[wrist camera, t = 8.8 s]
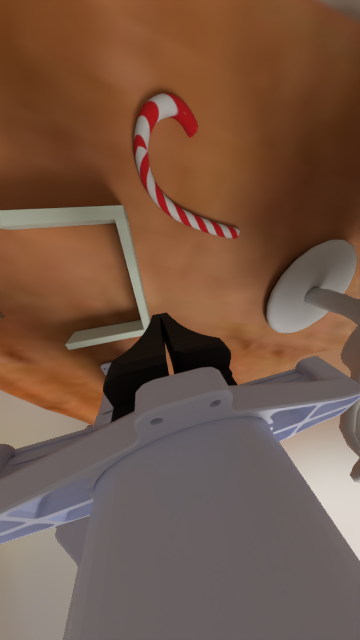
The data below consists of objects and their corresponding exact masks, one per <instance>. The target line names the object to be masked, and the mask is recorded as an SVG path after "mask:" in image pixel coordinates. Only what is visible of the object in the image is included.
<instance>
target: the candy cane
mask: <svg viewBox="0 0 360 640" xmlns="http://www.w3.org/2000/svg"><path fill="white" fill-rule="evenodd" d="M166 117H171V118H174V119H176V120H177V121H178V122H179V123H180V124H181V125H182V127H183V128H184V130H185V131H186V133H187V135H188V136H189V137H192V136H193V135H194V134H195V133H196V131H197V130H198V124H197V121H196V119H195V117H194V115H193V114H192V112H191V110H190V109H189V107H188V106H187V105H186V104H185V102H184V101H183V100H181V99H180V98H179V97H177V96H175V95H173V94H169V93H162V94H158V95H156V96H154V97H152V98H151V99H150V100H148V101H147V102H146V103H145V104H144V105H143V107H142V109H141V112H140V114H139V116H138V119H137V123H136V128H135V135H134V152H135V160H136V165H137V169H138V173H139V176H140V178H141V181H142V183H143V185H144V187H145V189H146V191H147V192H148V194H149V195H150V197H151V198H152V199H153V201H154V202H155V203H156V204H157V205H158V206H159V207H160V208H161V209H162V210H163V211H164V212H165V213H167V214H168V215H169V216H171V217H172V218H174V219H175V220H177V221H179V222H181V223H183V224H185V225H188V226H190V227H193V228H195V229H198V230H201V231H204V232H207V233H210V234H213V235H217V236H221V237H226V238H232V239H236V238H237V237H238V236H239V234H240V230H239V229H237V228H234V227H230V226H226V225H222V224H219V223H215V222H212V221H210V220H207V219H204V218H202V217H199V216H197V215H194V214H192V213H190V212H188V211H186V210H184V209H182V208H180V207H179V206H177V205H176V204H174V203H173V202H172V201H171V200H169V199H168V198H167V197H166V196H165V195H164V194H163V193H162V191H161V190H160V189H159V187H158V186H157V184H156V182H155V180H154V178H153V176H152V173H151V170H150V166H149V160H148V143H149V138H150V134H151V131H152V129H153V127H154V125H155V124H156V123H157V122H158V121H160V120H161V119H163V118H166Z"/></svg>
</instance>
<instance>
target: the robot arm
mask: <svg viewBox="0 0 360 640" xmlns="http://www.w3.org/2000/svg"><path fill="white" fill-rule="evenodd" d="M165 343H166V346H167V349H168V352H169V355H170V358H171V362H172V366H173V370H174V375H170V376H169V372H168V366H167V361H166V351H165ZM230 360H231V352H230V350H229V348H228V347H227V346H226V345H225V343H224V342H223V341H222V340H221V339H220V338H216V337H211V336H206V335H202V334H199V333H196V332H194V331H191V330H189V329H187V328H185V327H183V326H182V325H180V324H179V323H177V322H176V321H175V320H174V319H173V318H171V317H170V316H169V315H168V314H167V313H162V314H156V315H153V316H152V318H151V321H150V323H149V325H148V327H147V329H146V331H145V332H144V334H143V335H142V337H141V338H140V339H139V340H138V341H137V342H136V343H135V344H134V345H133V346H132V347H131V348H130V349H129V350H128V351H126V352H125V353H124V354H123V355H121V356H120V357H118V358H117V359H115V360H114V361H112V362H109V363H104V364H102V365H101V369H102V371H103V372H104V374H105V376H106V378H105V382H104V386H103V392H104V394H103V398H102V402H101V405H100V409H99V413H98V415H97V417H96V420H95V424H94V427H93V425H88V426H87V428H85V429H84V430H81V431H77V432H74V433H71V434H67V435H64V436H60V437H57V438H53V439H50V440H46V441H43V442H40V443H36V444H32V445H29V446H26V447H22V448H19V449H14V448H13V447H12V446H10V445H7V444H0V544H3V543H6V542H9V541H12V540H15V539H18V538H21V537H24V536H27V535H30V534H33V533H36V532H40V531H43V530H46V529H49V528H52V527H56V528H57V530H56V534H55V536H56V539H57V541H58V542H59V544H60V545H61V546H62V547H63V548H64V549H65V550H66V552H67V553H68V554H69V555H70V556H71V558H72V559H73V560H74V561H75V562H76V564H77V566H78V571H77V575H76V580H75V584H74V589H73V594H72V599H71V604H70V608H69V613H68V618H67V623H66V628H65V632H64V637H63V640H360V561H359V559H358V558H357V556H356V555H355V553H354V552H353V551H352V549H351V548H350V546H349V545H348V543H347V542H346V540H345V539H344V537H343V536H342V534H341V533H340V531H339V530H338V528H337V527H336V525H335V524H334V522H333V521H332V520H331V518H330V516H329V515H328V514H327V512H326V511H325V509H324V508H323V506H322V505H321V503H320V502H319V500H318V499H317V497H316V496H315V494H314V493H313V491H312V490H311V488H310V487H309V485H308V484H307V483H306V481H305V480H304V478H303V477H302V475H301V474H300V472H299V471H298V469H297V468H296V466H295V465H294V463H293V462H292V460H291V459H290V457H289V456H288V454H287V453H286V451H285V450H284V448H283V447H282V445H281V444H280V441H282V440H285V439H287V438H289V437H291V436H293V435H295V434H297V433H299V432H301V431H304V430H306V429H308V428H310V427H312V426H314V425H316V424H319V423H321V422H323V421H326V420H328V419H331V418H333V417H336V416H338V415H341V414H342V413H343V412H344V411H346V410H347V409H348V408H349V407H350V406H352V405H353V404H354V403H355V402H356V401H358V400H359V399H360V384H359V383H357V382H356V381H354V380H353V379H351V378H350V377H348V376H347V375H345V374H344V373H342V372H341V371H339V370H338V369H336V368H334V367H333V366H331V365H330V364H328V363H327V362H325V361H324V360H322V359H321V358H319V357H318V356H313V357H309V358H305V359H303V360H301V361H300V362H298V363H297V365H296V367H295V369H292V370H289V371H285V372H282V373H278V374H275V375H271V376H268V377H265V378H261V379H258V380H254V381H251V382H247V383H244V384H240V385H237V383H236V382H235V380H234V379H233V377H232V372H231V370H230V369H229V365H230Z"/></svg>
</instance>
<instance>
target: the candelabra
mask: <svg viewBox="0 0 360 640" xmlns="http://www.w3.org/2000/svg"><path fill="white" fill-rule="evenodd" d="M356 262H357V255H356V251H355V248H354V246H353V245H351V244H350V243H348V242H347V241H345V240H329V241H326V242H324V243H322V244H319V245H317V246H315V247H312V248H311V249H309V250H308V251H307V252H305V253H304V254H303V255H301V256H300V257H299V258H297V259H296V260H295V261H294V262H293V263H292V264H291V265H290V266H289V268H288V269H287V270H286V271H285V272H284V273H283V274H282V275H281V277H280V279H279V280H278V282H277V284H276V285H275V287H274V288H273V290H272V292H271V295H270V298H269V301H268V304H267V314H266V318H267V320H268V323H269V325H270V327H271V328H272V329H274V330H275V331H276V332H281V333H291V332H296V331H299V330H301V329H304V328H306V327H308V326H310V325H311V324H313V323H314V322H316V321H317V320H319V319H320V318H322V317H323V316H324V315H325V314H326V313H327V312H328V311H329V312H334V313H338V314H341V315H343V316H345V317H347V318H349V319H351V320H352V321H353V322H355V323H356V324H358V326H357V327H356V329H355V330H354V331H353V332H352V334H351V335H350V337H349V338H348V340H347V341H346V343H345V345H344V347H343V350H342V353H341V359H342V361H343V363H344V364H345V365H346V366H347V367H348V368H349V369H350V371H351V377H350V378H351V379H353V380H354V381H356V382H357V383H359V384H360V299H356V298H352V297H350V296H348V295H346V294H344V292H345V291H346V289H347V288H348V286H349V285H350V282H351V280H352V277H353V275H354V273H355V270H356ZM339 428H340V430H341V432H342V434H343V436H344V439H345V441H346V443H347V445H348V446H349V447H350V448H351V449H352V450H353V451H354V452H355V453H356V454H357V455H358V456H359V457H360V399H359V400H358V401H356V402H355V403H354V404H353V405H352V406H350V407H349V408H348V409H347V410H346V411H344V412H343V413H342V414H341V417H340V424H339ZM350 476H351V477H352V479H353V480H354V482H358V483H360V458H359V460H358V461H357V462H356V464H355V465H354V466H353V469H352V471H351V474H350Z"/></svg>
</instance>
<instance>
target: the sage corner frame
mask: <svg viewBox="0 0 360 640" xmlns="http://www.w3.org/2000/svg"><path fill="white" fill-rule="evenodd" d="M111 223H116V225H117V229H118V233H119V237H120V241H121V244H122V248H123V252H124V256H125V259H126V263H127V267H128V271H129V275H130V278H131V282H132V286H133V290H134V293H135V297H136V301H137V305H138V308H139V312H140V316H141V320H138V321H132V322H127V323H121V324H116V325H110V326H104V327H99V328H93V329H88V330H82V331H76V332H74V333H73V335H72V336H71V337H70V339H69V340H68V341H67V343H66V344H65V345H66V347H67V348H68V350H71V349H76V348H81V347H86V346H92V345H97V344H102V343H107V342H112V341H117V340H122V339H127V338H132V337H137V336H142V335H143V334H144V332H145V331H146V329H147V327H148V325H149V323H150V321H151V320H150V316H149V311H148V307H147V302H146V298H145V293H144V289H143V285H142V280H141V276H140V271H139V267H138V262H137V258H136V253H135V249H134V244H133V240H132V235H131V231H130V226H129V222H128V217H127V213H126V210H125V209H124V207H123V205H117V206H93V207H70V208H46V209H23V210H0V229H10V230H15V229H31V228H47V227H63V226H79V225H95V224H111Z"/></svg>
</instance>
